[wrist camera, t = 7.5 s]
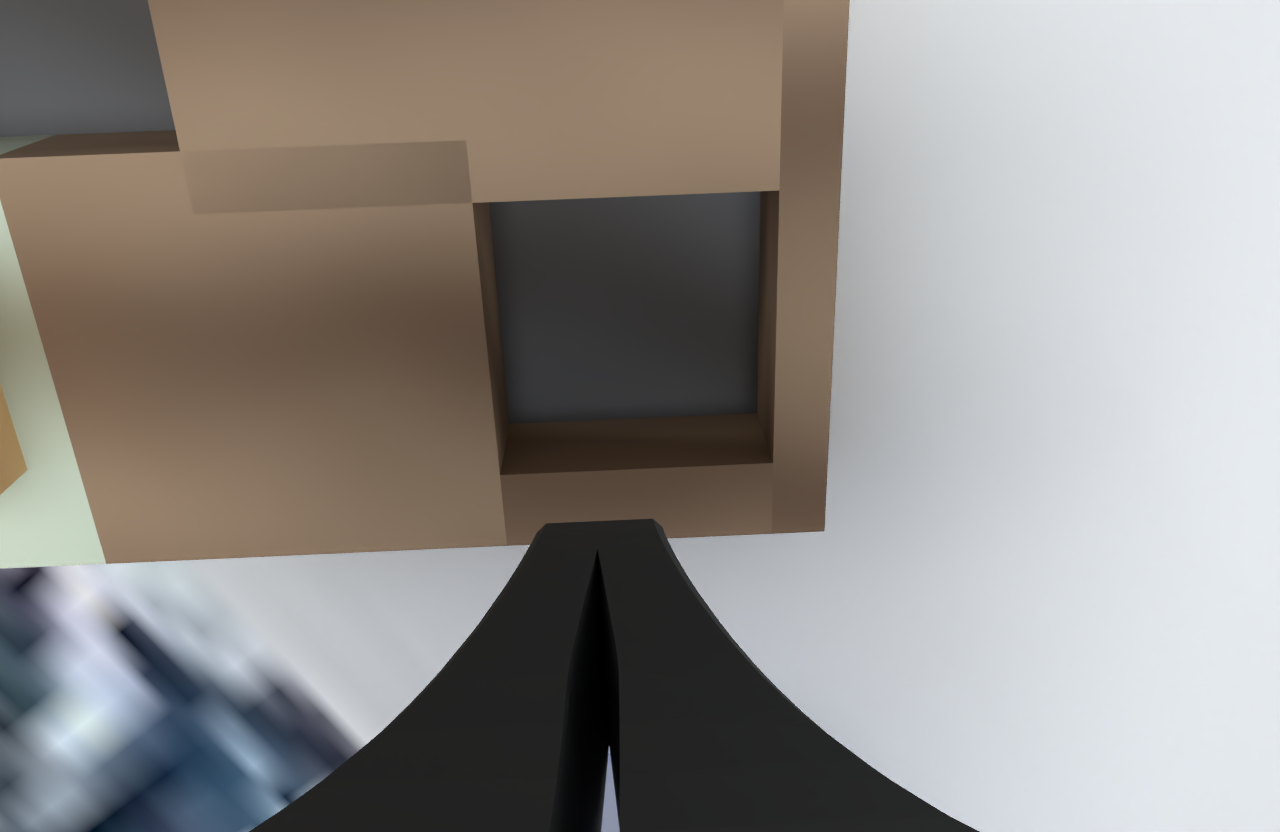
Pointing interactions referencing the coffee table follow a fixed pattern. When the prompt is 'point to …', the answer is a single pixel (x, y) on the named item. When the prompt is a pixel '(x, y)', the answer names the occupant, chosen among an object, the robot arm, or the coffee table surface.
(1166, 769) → the coffee table surface
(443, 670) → the robot arm
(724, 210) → the trap board
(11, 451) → the block
